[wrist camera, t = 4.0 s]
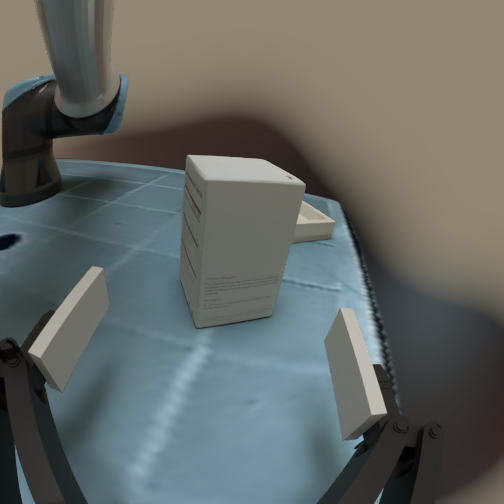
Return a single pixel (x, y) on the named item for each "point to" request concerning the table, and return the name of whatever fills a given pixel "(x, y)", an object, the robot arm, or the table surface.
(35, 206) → the table surface
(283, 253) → the supplement box
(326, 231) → the tray
